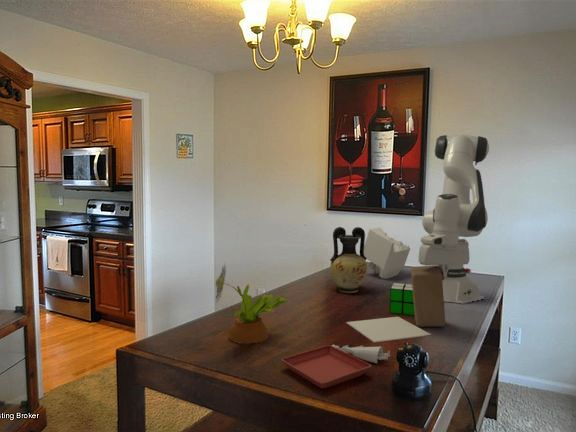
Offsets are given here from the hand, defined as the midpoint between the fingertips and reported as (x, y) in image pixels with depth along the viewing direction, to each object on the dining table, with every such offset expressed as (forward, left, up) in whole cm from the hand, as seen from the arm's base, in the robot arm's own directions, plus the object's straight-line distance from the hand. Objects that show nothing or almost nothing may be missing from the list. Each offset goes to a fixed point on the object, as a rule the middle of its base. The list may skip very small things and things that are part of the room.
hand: (443, 276), depth 164 cm
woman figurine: (+43, +17, -18) cm, 50 cm away
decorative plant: (+70, -7, -18) cm, 73 cm away
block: (+4, -1, -17) cm, 17 cm away
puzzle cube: (+4, -18, -18) cm, 26 cm away
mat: (+22, -1, -18) cm, 28 cm away
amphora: (+11, -53, -18) cm, 57 cm away
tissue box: (-22, -74, -18) cm, 80 cm away
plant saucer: (+57, +24, -18) cm, 64 cm away
